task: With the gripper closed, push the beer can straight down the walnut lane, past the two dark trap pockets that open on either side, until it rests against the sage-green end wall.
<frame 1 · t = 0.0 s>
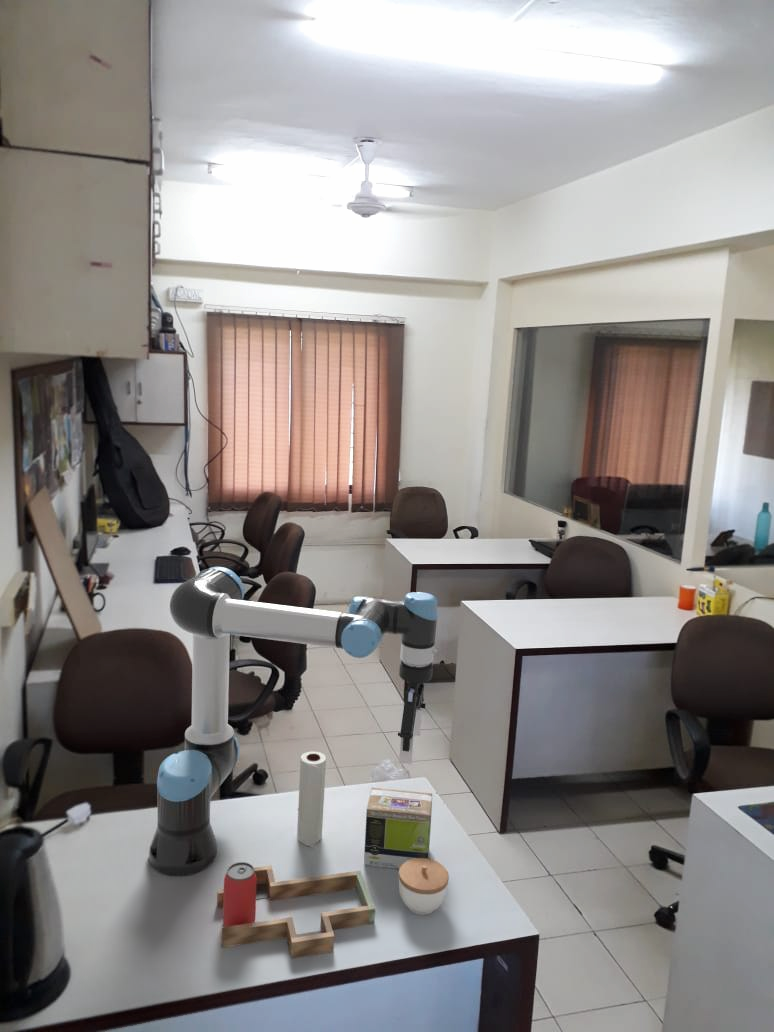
hand: (410, 748, 176), 28 cm above the table, fingers open, 13 cm apart
beer can: (239, 923, 157), on the table
tea box: (396, 857, 181), on the table
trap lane: (292, 914, 160), on the table
paper towel roll: (308, 839, 186), on the table
lidded jar: (421, 905, 166), on the table
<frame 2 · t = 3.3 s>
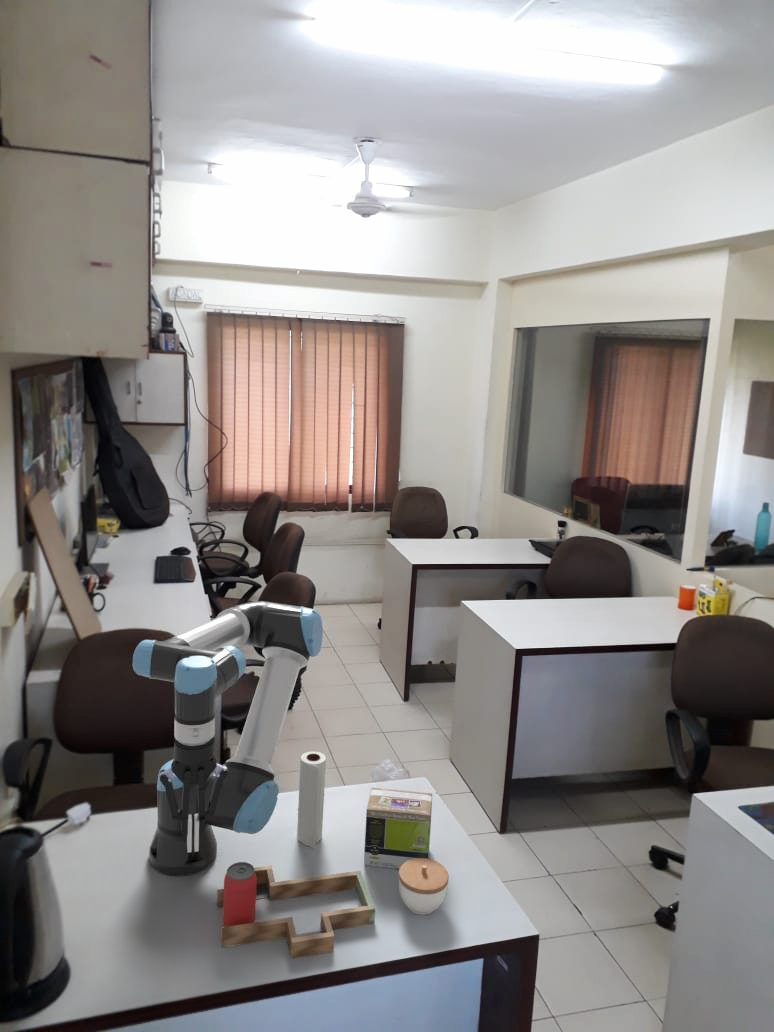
hand: (192, 847, 151), 18 cm above the table, fingers closed
nothing on the table moved.
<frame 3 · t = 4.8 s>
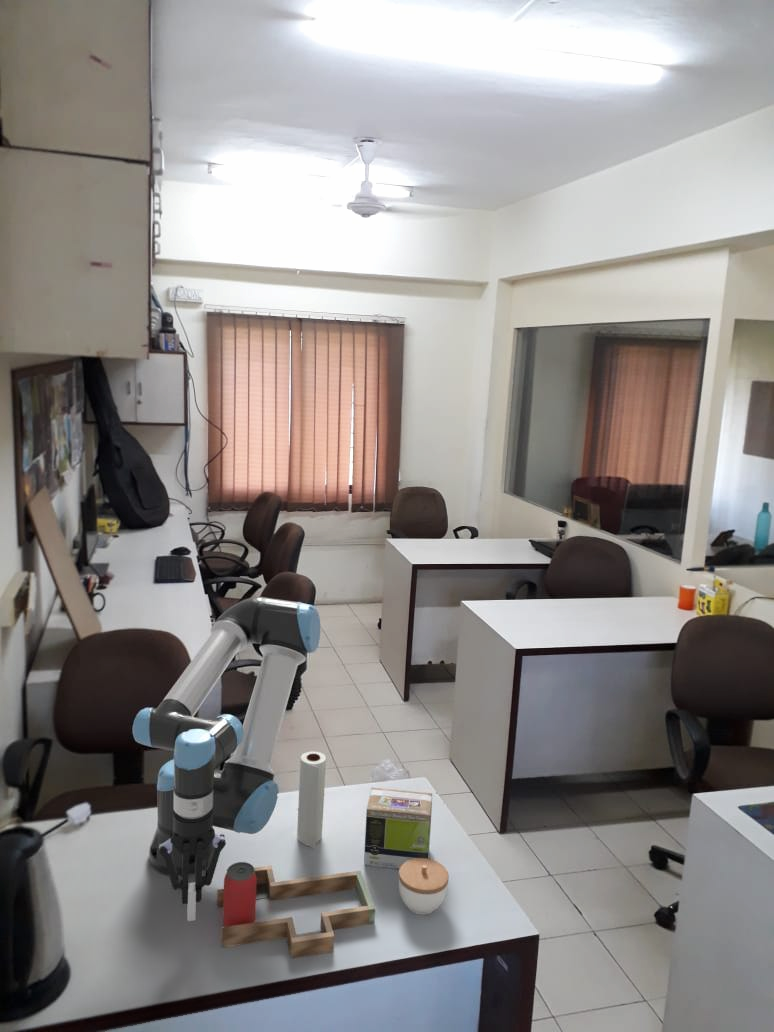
hand: (191, 915, 153), 3 cm above the table, fingers closed
nothing on the table moved.
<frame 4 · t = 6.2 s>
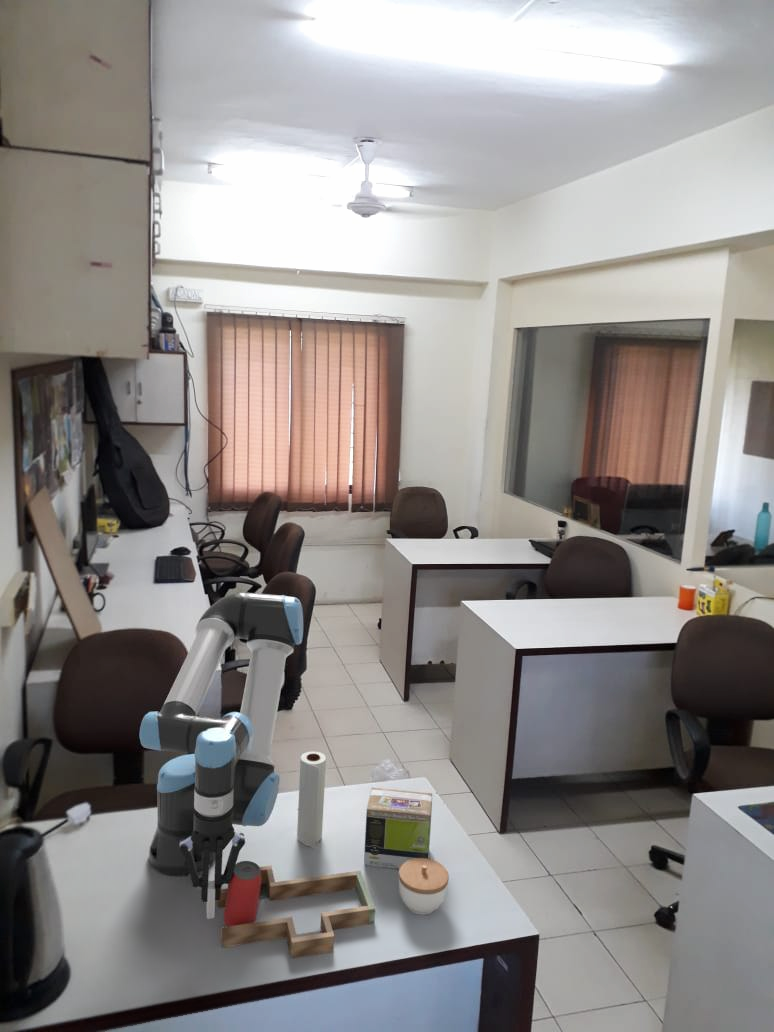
hand: (210, 913, 154), 3 cm above the table, fingers closed
beer can: (239, 921, 157), on the table, touching gripper, hand
everything else where it was.
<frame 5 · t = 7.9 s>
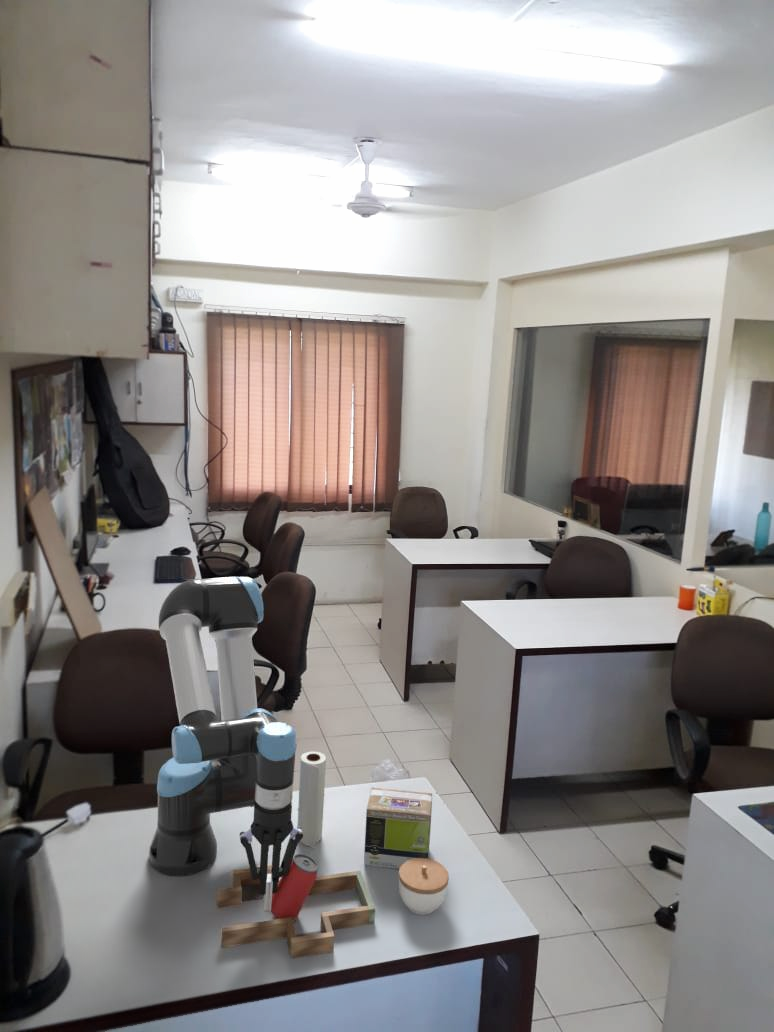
hand: (267, 906, 157), 4 cm above the table, fingers closed
beer can: (281, 912, 159), point 1 cm above the table, touching gripper, hand
everything else where it was.
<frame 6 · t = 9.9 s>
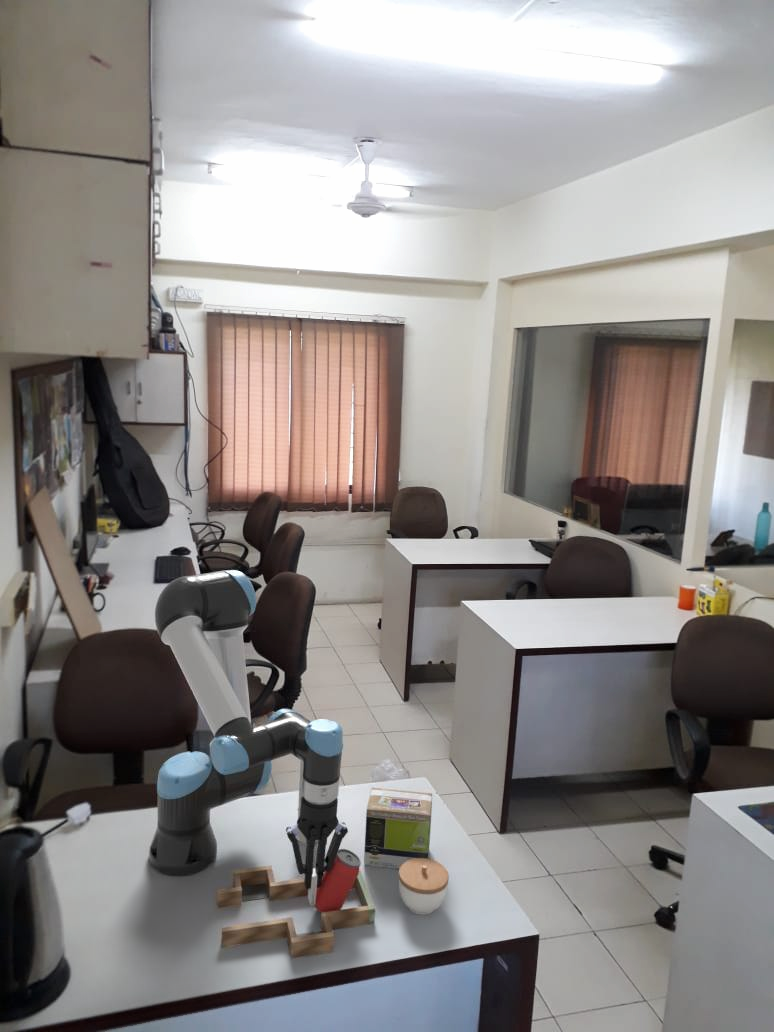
hand: (311, 900, 159), 4 cm above the table, fingers closed
beer can: (324, 907, 161), point 1 cm above the table, touching gripper, hand
everything else where it was.
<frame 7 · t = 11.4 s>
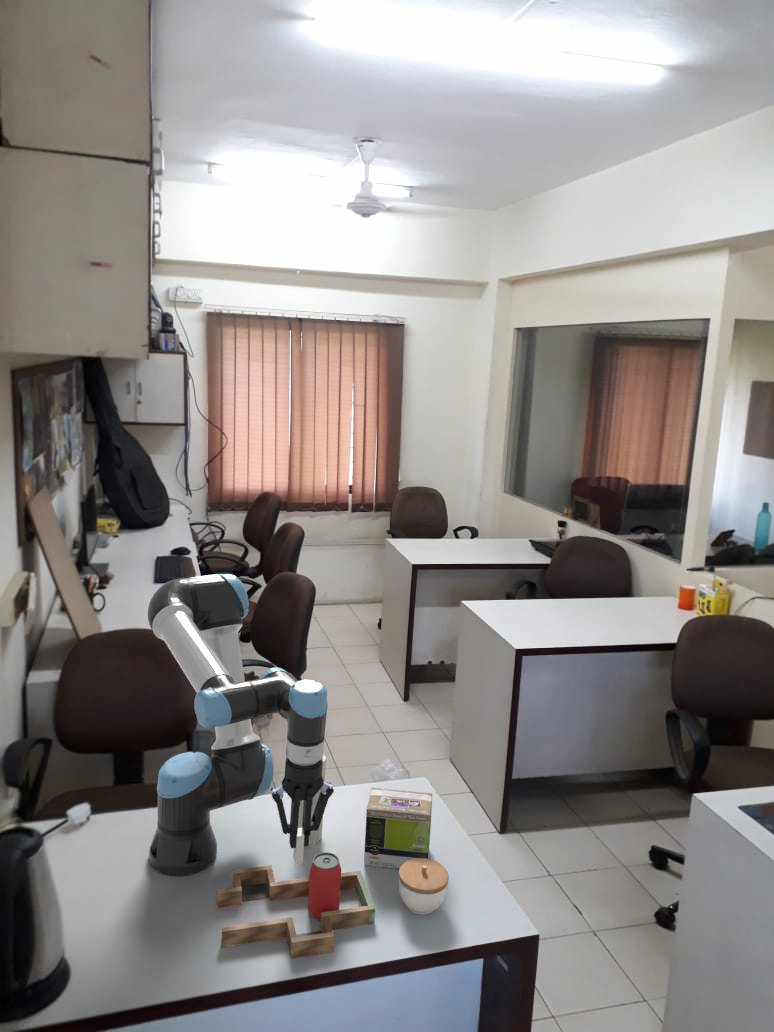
hand: (297, 859, 159), 12 cm above the table, fingers closed
beer can: (323, 911, 162), on the table
everything else where it was.
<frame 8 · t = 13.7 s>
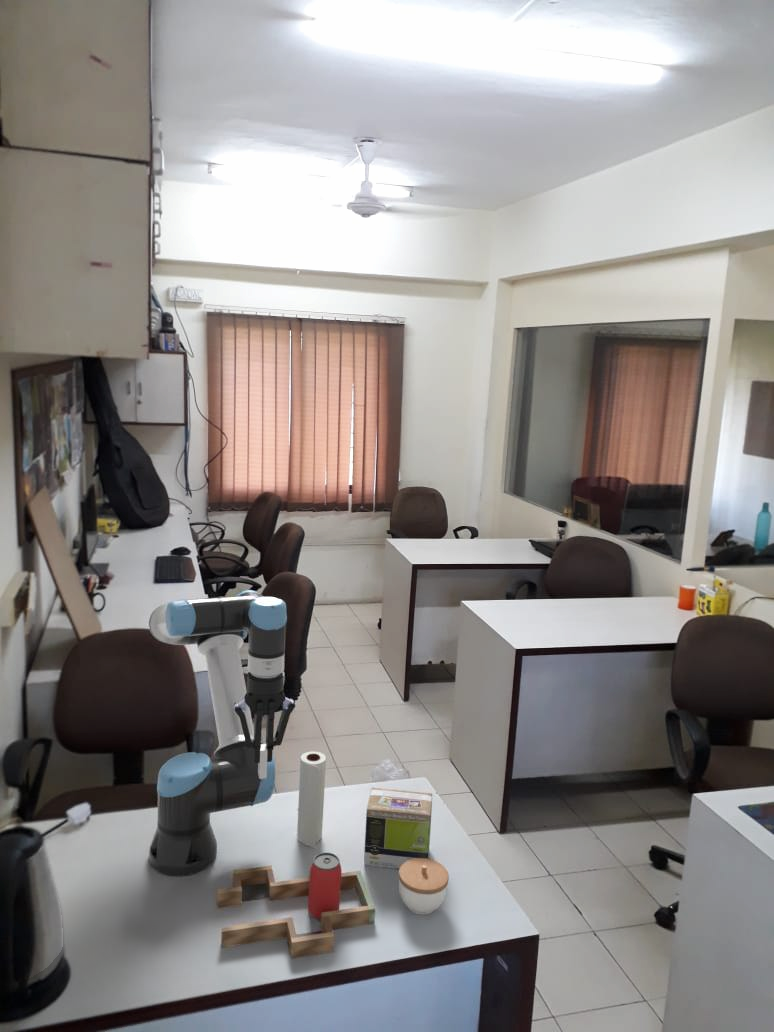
hand: (262, 775, 163), 26 cm above the table, fingers closed
nothing on the table moved.
at the end: beer can inside the target area (3.7 cm from its centre), on the table; beer can tilted 0°; beer can moved 17.6 cm from its start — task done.
